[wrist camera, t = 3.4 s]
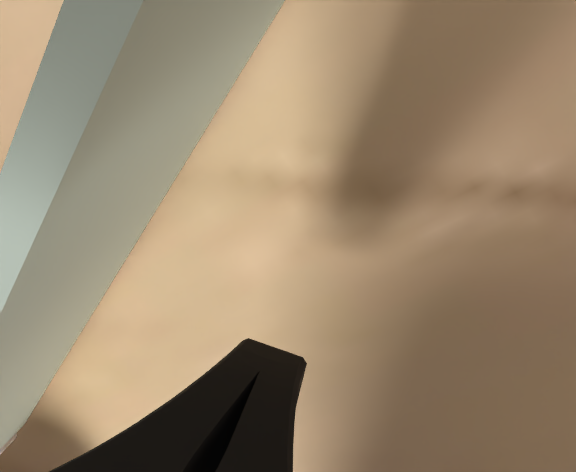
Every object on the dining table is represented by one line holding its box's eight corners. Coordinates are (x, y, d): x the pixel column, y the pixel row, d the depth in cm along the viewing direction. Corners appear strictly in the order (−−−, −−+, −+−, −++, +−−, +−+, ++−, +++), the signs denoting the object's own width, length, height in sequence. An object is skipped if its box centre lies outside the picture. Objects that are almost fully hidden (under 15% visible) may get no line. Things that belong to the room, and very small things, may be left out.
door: (20, 435, 20) (-116, 576, 15) (-1, 419, 20) (-144, 555, 15) (310, -30, 10) (168, -32, 5) (268, -65, 10) (89, -97, 5)
